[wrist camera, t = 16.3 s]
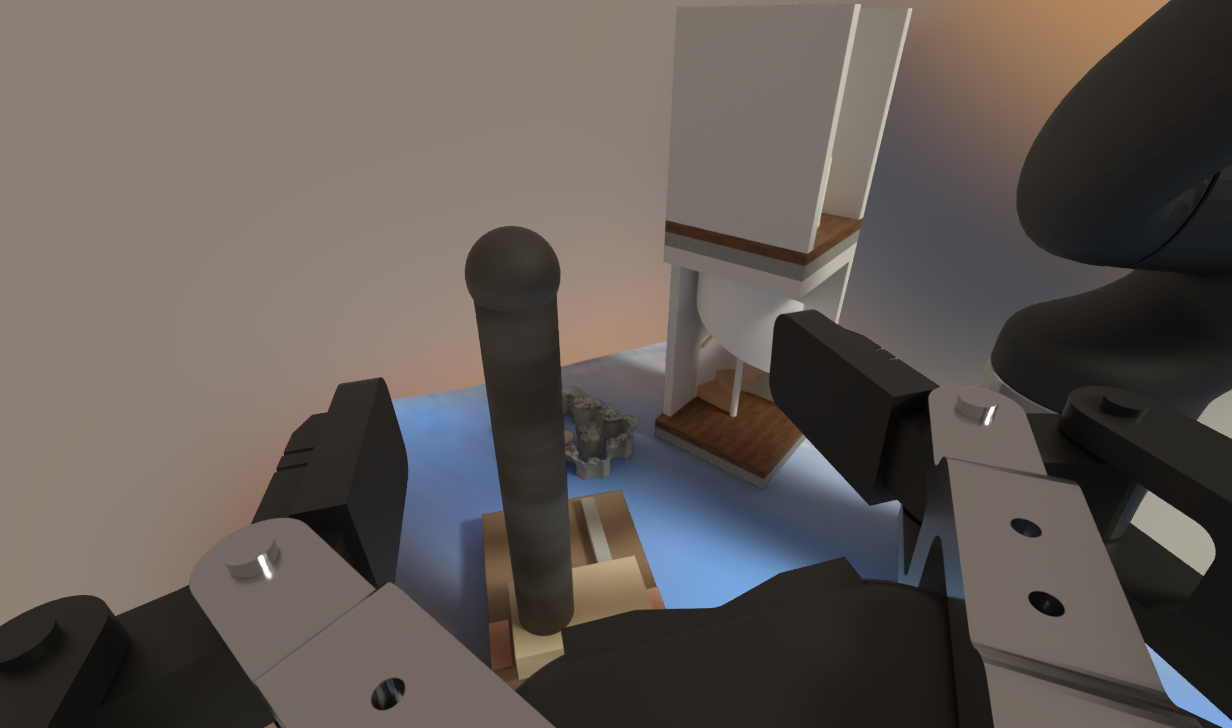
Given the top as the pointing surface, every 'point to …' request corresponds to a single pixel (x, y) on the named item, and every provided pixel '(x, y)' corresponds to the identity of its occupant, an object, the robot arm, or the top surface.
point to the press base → (594, 538)
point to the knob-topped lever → (536, 448)
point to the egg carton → (596, 433)
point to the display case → (763, 205)
